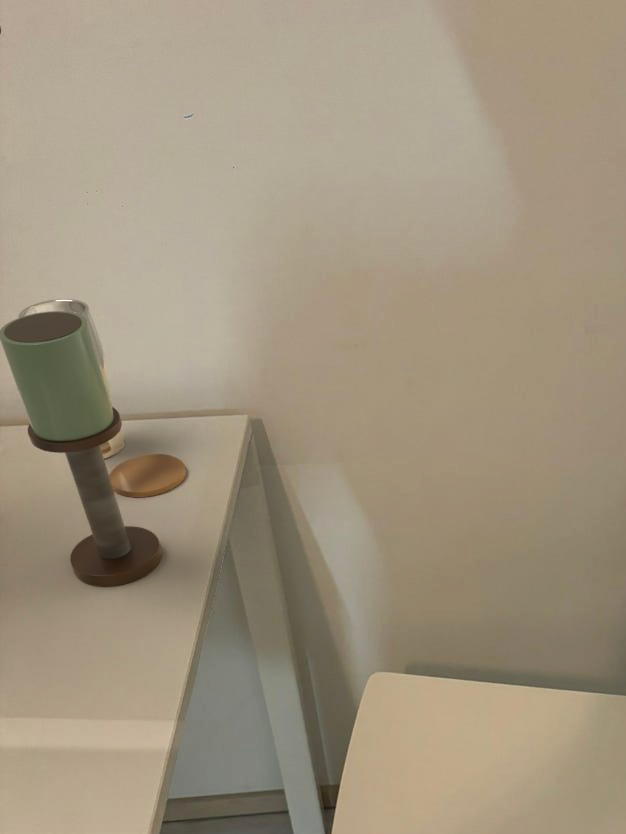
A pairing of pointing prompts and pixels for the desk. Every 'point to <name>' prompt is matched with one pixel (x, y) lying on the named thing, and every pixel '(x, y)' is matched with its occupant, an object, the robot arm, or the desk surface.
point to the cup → (58, 375)
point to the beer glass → (83, 309)
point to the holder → (103, 516)
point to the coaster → (147, 475)
